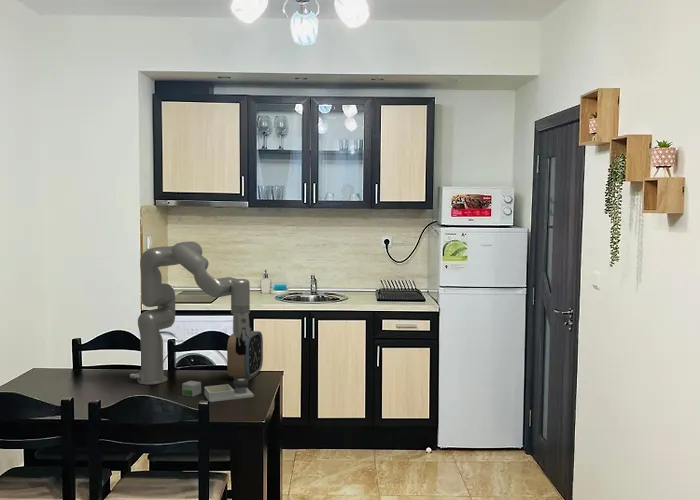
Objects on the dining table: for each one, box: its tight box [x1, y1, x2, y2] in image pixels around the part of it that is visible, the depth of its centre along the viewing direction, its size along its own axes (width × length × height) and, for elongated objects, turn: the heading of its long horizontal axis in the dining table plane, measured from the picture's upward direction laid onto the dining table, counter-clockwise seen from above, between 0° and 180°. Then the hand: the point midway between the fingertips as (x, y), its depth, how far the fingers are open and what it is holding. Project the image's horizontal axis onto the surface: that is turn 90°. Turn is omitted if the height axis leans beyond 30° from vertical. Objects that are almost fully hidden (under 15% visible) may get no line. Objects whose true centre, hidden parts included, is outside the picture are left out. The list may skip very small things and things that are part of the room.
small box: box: [181, 380, 202, 397], centre depth 275 cm, size 6×6×5 cm
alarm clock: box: [226, 327, 264, 381], centre depth 302 cm, size 21×10×22 cm, turn 168°
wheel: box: [232, 378, 249, 388], centre depth 274 cm, size 6×6×5 cm
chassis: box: [203, 383, 255, 403], centre depth 272 cm, size 18×10×4 cm, turn 113°
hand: (240, 353), depth 273 cm, fingers open, 3 cm apart
